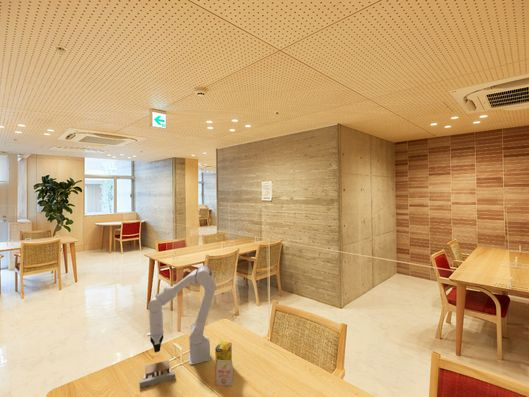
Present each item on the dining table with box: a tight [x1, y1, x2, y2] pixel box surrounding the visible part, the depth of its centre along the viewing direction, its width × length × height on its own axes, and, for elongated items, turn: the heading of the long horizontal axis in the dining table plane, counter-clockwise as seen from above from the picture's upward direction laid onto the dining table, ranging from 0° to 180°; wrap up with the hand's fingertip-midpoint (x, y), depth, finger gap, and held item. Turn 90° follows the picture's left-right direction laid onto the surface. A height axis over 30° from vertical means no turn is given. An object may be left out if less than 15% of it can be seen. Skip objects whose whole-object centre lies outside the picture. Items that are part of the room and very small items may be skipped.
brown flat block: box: [144, 359, 171, 379], centre depth 121 cm, size 10×9×3 cm
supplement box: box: [214, 340, 233, 363], centre depth 124 cm, size 6×6×11 cm
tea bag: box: [214, 359, 234, 388], centre depth 115 cm, size 4×7×10 cm, turn 85°
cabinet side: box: [139, 367, 176, 389], centre depth 117 cm, size 14×4×2 cm, turn 112°
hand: (157, 351), depth 128 cm, fingers closed
